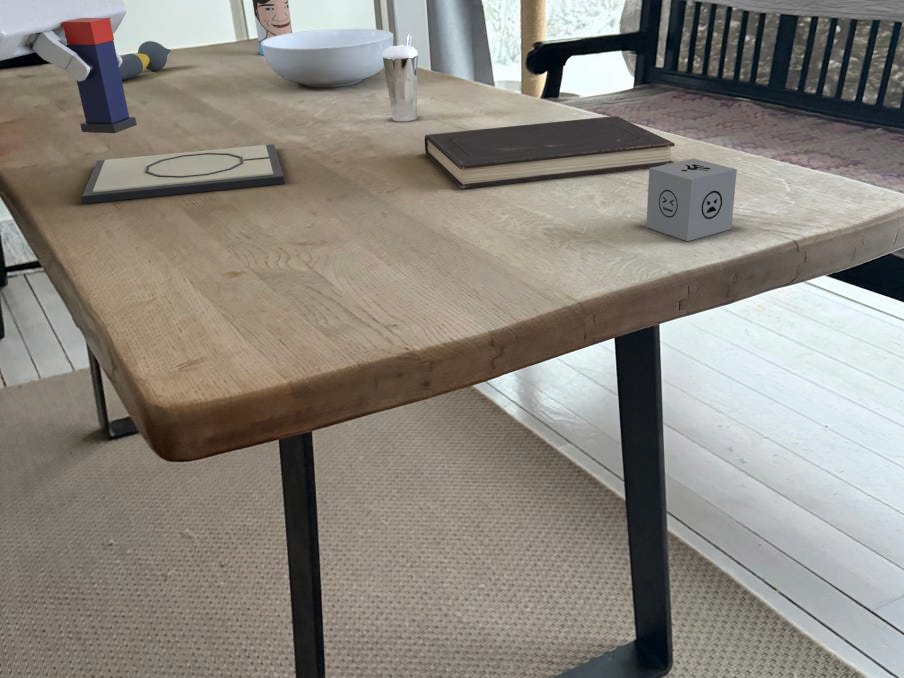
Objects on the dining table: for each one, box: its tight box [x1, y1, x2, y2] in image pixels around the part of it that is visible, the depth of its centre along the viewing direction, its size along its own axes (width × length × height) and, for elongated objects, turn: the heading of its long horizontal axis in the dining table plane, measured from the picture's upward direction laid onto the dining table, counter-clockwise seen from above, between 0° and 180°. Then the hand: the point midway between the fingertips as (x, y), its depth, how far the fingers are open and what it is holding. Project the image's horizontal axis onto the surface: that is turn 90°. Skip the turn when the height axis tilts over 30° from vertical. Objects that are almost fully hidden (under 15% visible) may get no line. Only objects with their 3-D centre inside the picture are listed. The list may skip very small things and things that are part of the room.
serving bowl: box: [261, 28, 394, 88], centre depth 152 cm, size 21×21×7 cm
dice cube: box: [645, 158, 738, 242], centre depth 80 cm, size 5×5×5 cm
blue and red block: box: [62, 18, 138, 134], centre depth 93 cm, size 4×4×10 cm
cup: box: [252, 0, 293, 56], centre depth 184 cm, size 7×7×15 cm
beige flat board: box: [81, 143, 285, 205], centre depth 104 cm, size 20×16×1 cm
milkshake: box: [382, 33, 419, 122], centre depth 124 cm, size 5×5×10 cm
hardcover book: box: [424, 115, 676, 190], centre depth 103 cm, size 16×23×2 cm
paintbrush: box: [119, 40, 172, 81], centre depth 168 cm, size 20×5×5 cm, turn 170°
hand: (102, 71), depth 92 cm, fingers closed on blue and red block, 3 cm apart
